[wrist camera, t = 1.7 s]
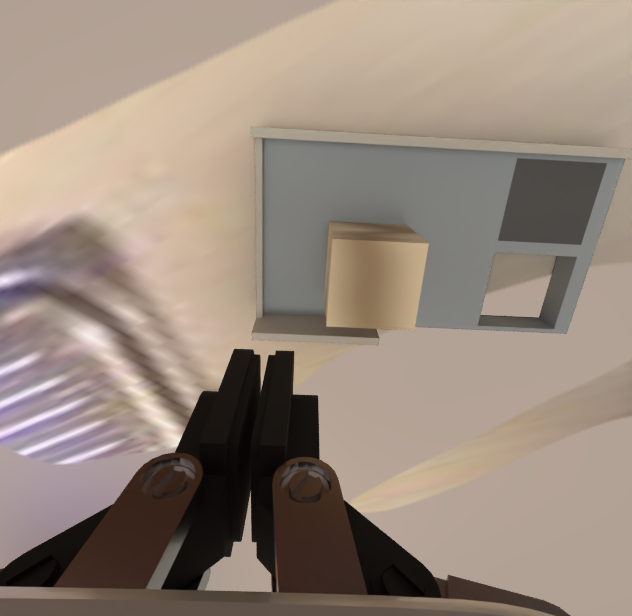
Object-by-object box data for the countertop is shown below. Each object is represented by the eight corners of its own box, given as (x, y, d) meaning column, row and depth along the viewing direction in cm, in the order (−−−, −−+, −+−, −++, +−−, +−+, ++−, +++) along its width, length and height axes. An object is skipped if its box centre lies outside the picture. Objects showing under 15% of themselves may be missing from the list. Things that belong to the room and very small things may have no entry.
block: (407, 225, 25) (428, 243, 20) (396, 298, 27) (414, 330, 22) (328, 220, 25) (332, 238, 20) (324, 294, 27) (326, 326, 22)
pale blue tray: (605, 149, 25) (671, 150, 20) (550, 321, 30) (594, 354, 25) (261, 129, 24) (249, 126, 20) (261, 308, 29) (251, 339, 25)
